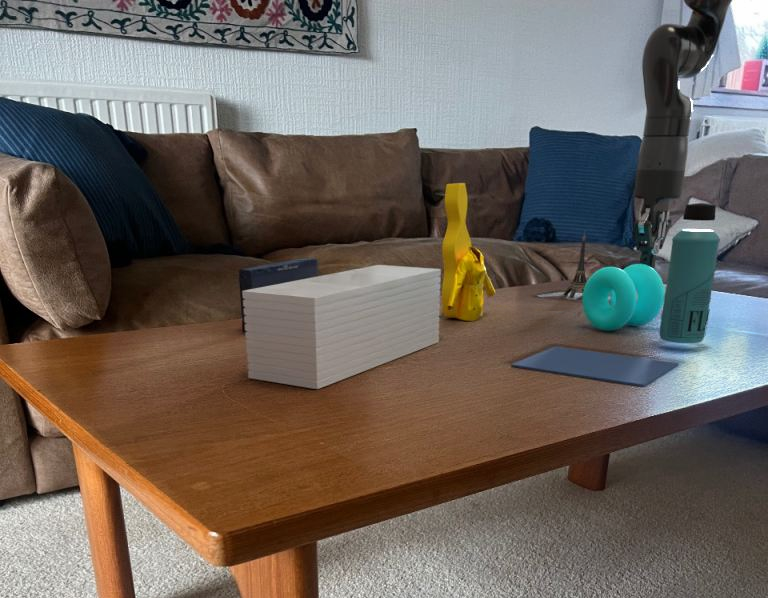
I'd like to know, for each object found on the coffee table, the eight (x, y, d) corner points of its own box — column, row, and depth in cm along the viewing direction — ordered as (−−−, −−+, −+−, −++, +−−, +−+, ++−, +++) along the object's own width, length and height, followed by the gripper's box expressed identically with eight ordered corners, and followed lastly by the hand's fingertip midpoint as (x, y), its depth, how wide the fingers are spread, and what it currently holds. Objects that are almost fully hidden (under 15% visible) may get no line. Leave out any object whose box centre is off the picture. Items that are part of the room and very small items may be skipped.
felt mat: (678, 365, 106) (678, 363, 105) (643, 387, 95) (643, 384, 95) (554, 348, 115) (555, 346, 115) (511, 366, 105) (511, 364, 105)
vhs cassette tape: (253, 335, 124) (249, 269, 120) (239, 333, 125) (234, 268, 121) (321, 317, 138) (320, 258, 134) (308, 316, 140) (306, 257, 136)
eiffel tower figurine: (626, 301, 155) (635, 230, 150) (602, 307, 149) (610, 233, 143) (559, 293, 165) (565, 226, 159) (534, 299, 158) (539, 229, 152)
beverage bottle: (683, 355, 111) (707, 204, 103) (646, 347, 116) (666, 202, 108) (712, 350, 114) (738, 203, 106) (675, 342, 119) (697, 201, 111)
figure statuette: (459, 328, 130) (465, 184, 121) (418, 323, 133) (421, 183, 124) (503, 312, 143) (511, 182, 134) (464, 308, 147) (470, 181, 138)
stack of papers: (317, 389, 94) (314, 297, 89) (248, 378, 99) (242, 290, 94) (438, 342, 119) (440, 269, 114) (378, 335, 124) (378, 264, 119)
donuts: (663, 329, 129) (672, 266, 125) (623, 336, 123) (632, 270, 119) (615, 320, 136) (622, 260, 132) (575, 326, 131) (581, 264, 127)
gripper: (671, 167, 121) (654, 283, 128) (695, 167, 131) (678, 274, 138) (624, 167, 125) (610, 279, 132) (651, 167, 135) (636, 271, 142)
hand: (645, 276), depth 135 cm, fingers closed
